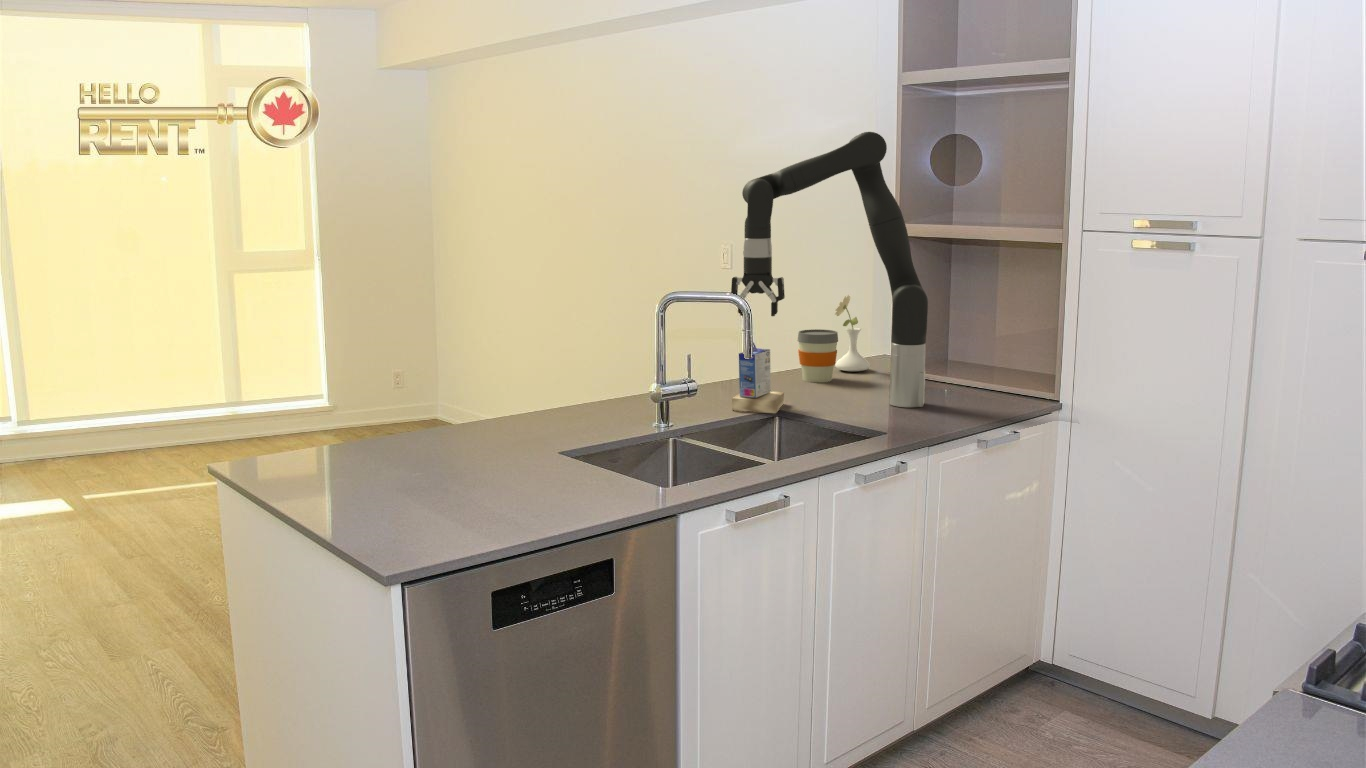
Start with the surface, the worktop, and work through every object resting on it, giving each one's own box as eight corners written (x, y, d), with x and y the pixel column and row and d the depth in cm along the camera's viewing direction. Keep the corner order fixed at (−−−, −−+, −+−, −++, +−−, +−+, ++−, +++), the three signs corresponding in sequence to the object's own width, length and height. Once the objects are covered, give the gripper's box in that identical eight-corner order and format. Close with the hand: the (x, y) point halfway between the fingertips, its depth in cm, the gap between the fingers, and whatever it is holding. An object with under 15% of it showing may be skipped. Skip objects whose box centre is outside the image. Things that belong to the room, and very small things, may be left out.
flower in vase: (851, 366, 351) (853, 291, 347) (877, 371, 342) (879, 294, 338) (824, 370, 343) (825, 294, 339) (850, 375, 334) (851, 297, 330)
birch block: (783, 406, 292) (784, 392, 292) (775, 415, 281) (775, 400, 280) (741, 404, 296) (741, 390, 295) (731, 412, 284) (732, 398, 284)
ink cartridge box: (753, 391, 294) (753, 339, 291) (771, 392, 291) (772, 340, 288) (737, 396, 285) (738, 343, 282) (756, 398, 282) (756, 345, 280)
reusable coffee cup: (819, 385, 319) (820, 336, 317) (788, 379, 329) (789, 332, 326) (845, 379, 328) (846, 332, 325) (814, 374, 337) (815, 328, 334)
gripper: (786, 254, 282) (786, 314, 285) (735, 254, 286) (735, 313, 289) (781, 256, 275) (780, 318, 278) (728, 256, 279) (728, 316, 282)
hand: (757, 315), depth 284 cm, fingers open, 8 cm apart
